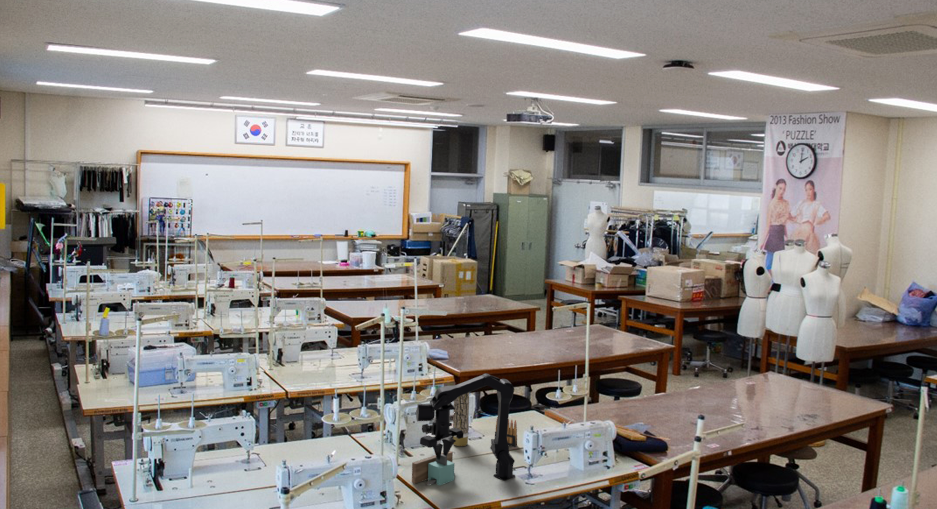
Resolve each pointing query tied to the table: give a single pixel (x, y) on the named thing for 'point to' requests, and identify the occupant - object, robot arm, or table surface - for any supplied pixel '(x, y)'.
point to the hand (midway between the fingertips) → (441, 458)
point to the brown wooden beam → (425, 469)
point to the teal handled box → (441, 470)
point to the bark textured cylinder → (461, 418)
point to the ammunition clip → (510, 433)
